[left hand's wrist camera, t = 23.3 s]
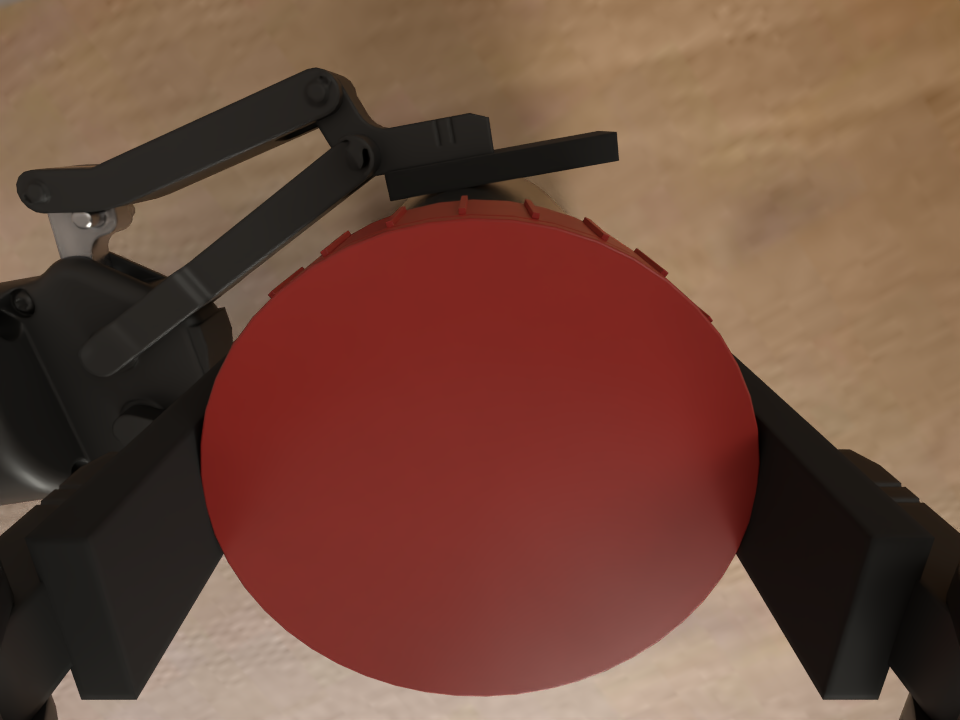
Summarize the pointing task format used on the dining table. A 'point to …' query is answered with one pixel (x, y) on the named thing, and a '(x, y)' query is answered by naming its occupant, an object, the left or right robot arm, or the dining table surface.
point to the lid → (479, 451)
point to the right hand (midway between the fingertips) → (620, 294)
